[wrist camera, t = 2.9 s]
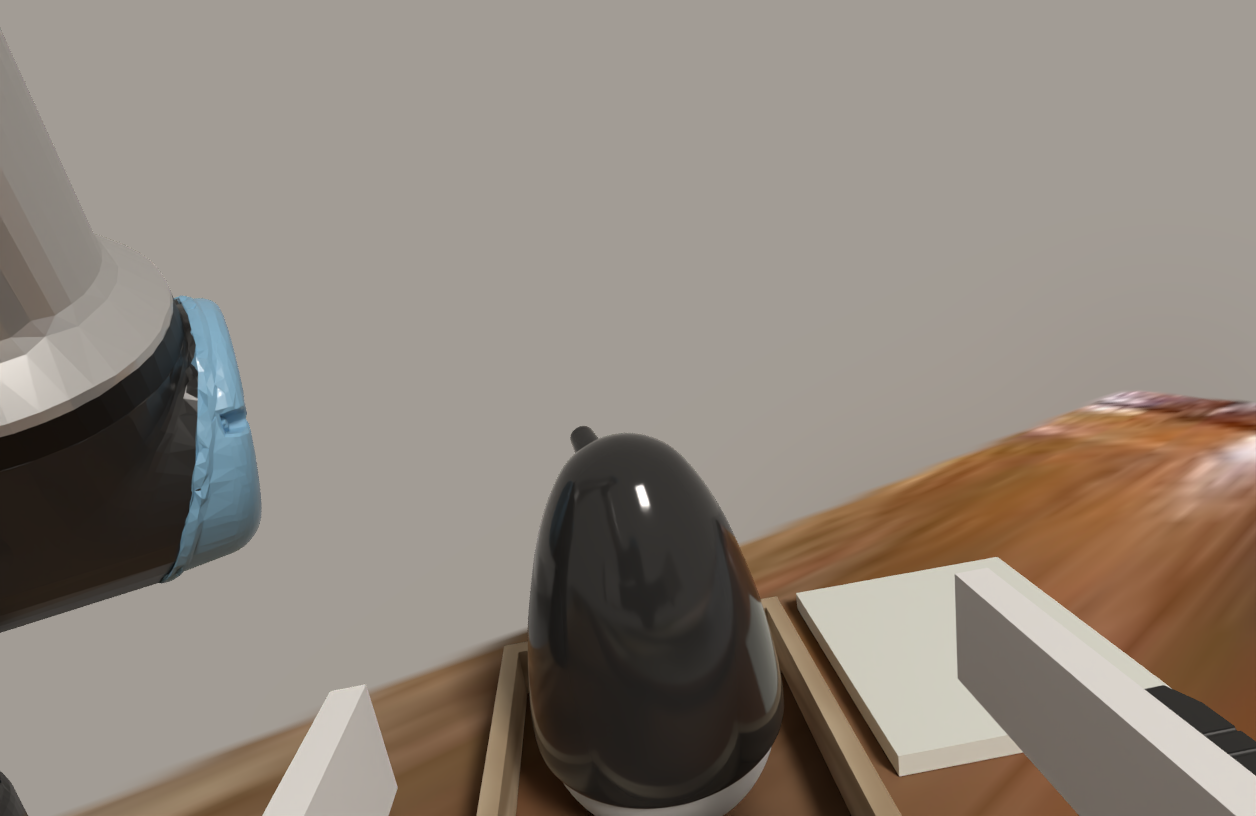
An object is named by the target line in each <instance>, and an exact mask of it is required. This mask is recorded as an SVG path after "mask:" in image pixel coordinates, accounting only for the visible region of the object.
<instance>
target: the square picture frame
mask: <svg viewBox="0 0 1256 816" xmlns="http://www.w3.org/2000/svg"><path fill="white" fill-rule="evenodd" d="M761 602H762V605H763V608H764V611H765V614H766V617H767V620H768V624H769V627H770V631H771V634H772V638H773V642H774V646H775V649H776V653H777V657H778V661H779V666H780V669H781V671H782V673H783V675H784V677H785V679H786V681H787V683H788V685H789V688H790V690H791V692H792V694H793V696H794V698H795V700H796V702H797V704H798V706H799V708H800V710H801V712H802V714H803V717H804V719H805V721H806V723H807V725H808V727H809V729H810V731H811V733H812V735H813V737H814V739H815V741H816V743H817V746H818V748H819V750H820V752H821V754H822V756H823V758H824V760H825V762H826V764H827V766H828V768H829V770H830V772H831V774H832V777H833V779H834V781H835V783H836V785H837V787H838V789H839V791H840V793H841V795H842V797H843V799H844V801H845V803H846V806H847V808H848V810H849V812H850V814H851V816H901V814H900V812H899V810H898V809H897V807H896V805H895V803H894V801H893V800H892V798H891V796H890V794H889V793H888V791H887V789H886V787H885V786H884V784H883V782H882V780H881V779H880V777H879V775H878V773H877V772H876V770H875V768H874V766H873V765H872V763H871V761H870V759H869V758H868V756H867V754H866V752H865V751H864V749H863V747H862V745H861V744H860V742H859V740H858V738H857V737H856V735H855V733H854V731H853V730H852V728H851V726H850V724H849V723H848V721H847V719H846V717H845V715H844V714H843V712H842V710H841V708H840V707H839V705H838V703H837V701H836V700H835V698H834V696H833V694H832V693H831V691H830V689H829V687H828V686H827V684H826V682H825V680H824V679H823V677H822V675H821V673H820V672H819V670H818V668H817V666H816V665H815V663H814V661H813V659H812V658H811V656H810V654H809V652H808V651H807V649H806V647H805V645H804V644H803V642H802V640H801V638H800V637H799V635H798V633H797V631H796V629H795V628H794V626H793V624H792V622H791V621H790V619H789V617H788V615H787V614H786V612H785V610H784V608H783V607H782V605H781V603H780V601H779V600H778V598H777V596H776V597H770V598H765V599H761ZM527 693H529V682H528V641H527V642H521V643H516V644H510V645H505V646H504V650H503V656H502V663H501V669H500V675H499V681H498V687H497V693H496V699H495V705H494V712H493V718H492V724H491V730H490V736H489V742H488V748H487V754H486V761H485V767H484V773H483V779H482V785H481V791H480V797H479V803H478V810H477V816H516V808H517V797H518V787H519V776H520V766H521V755H522V745H523V734H524V724H525V713H526V703H527Z"/></svg>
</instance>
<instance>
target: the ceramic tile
mask: <svg viewBox="0 0 1256 816" xmlns="http://www.w3.org/2000/svg"><path fill="white" fill-rule="evenodd" d="M982 568H989V569H990V570H991V571H993V572H994V573H995V574H996V575H998V576H999V577H1000V578H1002V579H1003V580H1004V581H1006V582H1007V583H1008V584H1009V585H1011V586H1012V587H1013V588H1015V589H1016V590H1017V591H1018V592H1020V593H1021V594H1022V595H1024V596H1025V597H1026V598H1027V599H1029V600H1030V601H1031V602H1033V603H1034V604H1035V605H1036V606H1038V607H1039V608H1040V609H1042V610H1043V611H1044V612H1045V613H1047V614H1048V615H1049V616H1051V617H1052V618H1053V619H1054V620H1056V621H1057V622H1058V623H1060V624H1061V625H1062V626H1063V627H1065V628H1066V629H1067V630H1069V631H1070V632H1071V633H1072V634H1074V635H1075V636H1076V637H1078V638H1079V639H1080V640H1081V641H1083V642H1084V643H1085V644H1087V645H1088V646H1089V647H1091V648H1092V649H1093V650H1094V651H1096V652H1097V653H1098V654H1100V655H1101V656H1102V657H1103V658H1105V659H1106V660H1107V661H1109V662H1110V663H1111V664H1112V665H1114V666H1115V667H1116V668H1118V669H1119V670H1120V671H1121V672H1123V673H1124V674H1125V675H1127V676H1128V677H1129V678H1130V679H1132V680H1133V681H1134V682H1136V683H1137V684H1138V685H1139V686H1141V687H1142V688H1143V689H1147V688H1152V687H1157V686H1162V685H1165V686H1167V687H1169V686H1168V685H1166V684H1165V683H1164V682H1162V681H1161V680H1160V679H1158V678H1157V677H1156V676H1154V675H1153V674H1152V673H1150V672H1149V671H1148V670H1146V669H1145V668H1144V667H1142V666H1141V665H1140V664H1139V663H1137V662H1136V661H1135V660H1133V659H1132V658H1131V657H1129V656H1128V655H1127V654H1125V653H1124V652H1123V651H1121V650H1120V649H1119V648H1117V647H1116V646H1115V645H1113V644H1112V643H1111V642H1109V641H1108V640H1107V639H1105V638H1104V637H1103V636H1101V635H1100V634H1099V633H1097V632H1096V631H1095V630H1093V629H1092V628H1091V627H1089V626H1088V625H1087V624H1085V623H1084V622H1083V621H1081V620H1080V619H1079V618H1078V617H1076V616H1075V615H1074V614H1072V613H1071V612H1070V611H1068V610H1067V609H1066V608H1064V607H1063V606H1062V605H1060V604H1059V603H1058V602H1056V601H1055V600H1054V599H1052V598H1051V597H1050V596H1048V595H1047V594H1046V593H1044V592H1043V591H1042V590H1040V589H1039V588H1038V587H1036V586H1035V585H1034V584H1032V583H1031V582H1030V581H1028V580H1027V579H1026V578H1024V577H1023V576H1022V575H1020V574H1019V573H1018V572H1016V571H1015V570H1014V569H1013V568H1011V567H1010V566H1009V565H1007V564H1006V563H1005V562H1003V561H1002V560H1001V559H999V558H998V557H994V558H989V559H983V560H978V561H972V562H967V563H961V564H956V565H950V566H945V567H939V568H933V569H928V570H922V571H917V572H911V573H906V574H900V575H895V576H889V577H884V578H878V579H873V580H867V581H861V582H856V583H850V584H845V585H839V586H834V587H828V588H823V589H817V590H812V591H806V592H801V593H796V599H797V609H798V610H799V612H800V614H801V615H802V617H803V619H804V620H805V622H806V624H807V625H808V627H809V629H810V630H811V632H812V633H813V635H814V637H815V638H816V640H817V642H818V643H819V645H820V647H821V648H822V650H823V652H824V653H825V655H826V657H827V658H828V660H829V662H830V663H831V665H832V666H833V668H834V670H835V671H836V673H837V675H838V676H839V678H840V680H841V681H842V683H843V685H844V686H845V688H846V690H847V691H848V693H849V694H850V696H851V698H852V699H853V701H854V703H855V704H856V706H857V708H858V709H859V711H860V713H861V714H862V716H863V718H864V719H865V721H866V722H867V724H868V726H869V727H870V729H871V731H872V732H873V734H874V736H875V737H876V739H877V741H878V742H879V744H880V746H881V747H882V749H883V751H884V752H885V754H886V755H887V757H888V759H889V760H890V762H891V764H892V765H893V767H894V769H895V770H896V772H897V774H898V775H899V776H904V775H909V774H914V773H920V772H925V771H930V770H935V769H940V768H945V767H950V766H955V765H961V764H966V763H971V762H976V761H981V760H986V759H991V758H997V757H1002V756H1007V755H1012V754H1017V753H1022V752H1023V751H1022V750H1021V749H1020V748H1019V747H1018V746H1017V745H1016V744H1015V742H1014V741H1013V740H1012V739H1011V738H1010V737H1009V736H1008V735H1007V733H1006V732H1005V731H1004V730H1003V729H1002V728H1001V727H1000V726H999V724H998V723H997V722H996V721H995V720H994V719H993V718H992V717H991V715H990V714H989V713H988V712H987V711H986V710H985V709H984V708H983V706H982V705H981V704H980V703H979V702H978V701H977V700H976V699H975V697H974V696H973V695H972V694H971V693H970V692H969V691H968V690H967V688H966V687H965V686H964V685H963V684H962V683H961V682H960V681H959V679H958V674H957V640H956V607H955V574H956V573H961V572H966V571H972V570H977V569H982ZM1169 688H1170V687H1169ZM1171 689H1172V688H1171Z"/></svg>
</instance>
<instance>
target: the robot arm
mask: <svg viewBox="0 0 1256 816" xmlns="http://www.w3.org/2000/svg"><path fill="white" fill-rule="evenodd" d="M246 415H247V412H246V407H245V403H244V396H243V388H242V383H241V379H240V375H239V370H238V366H237V361H236V357H235V353H234V349H233V346H232V342H231V338H230V335H229V331H228V328H227V325H226V322H225V319H224V316H223V314H222V312H221V310H220V308H219V307H218V305H217V304H215V303H214V302H213V301H211V300H207V299H203V298H201V299H200V298H198V299H193V298H191V297H187V296H179V297H176V298H173V296H172V293H171V290H170V288H169V286H168V283H167V281H166V279H165V278H164V276H163V275H162V274H161V272H160V271H159V270H158V268H157V267H156V266H155V265H154V264H153V262H152V261H150V260H149V259H148V258H146V257H145V256H143V255H142V254H141V253H139V252H138V251H136V250H134V249H132V248H130V247H128V246H126V245H124V244H121V243H118V242H116V241H113V240H111V239H108V238H105V237H103V236H100V235H97V234H94V233H93V231H92V229H91V227H90V224H89V222H88V220H87V218H86V216H85V214H84V211H83V209H82V207H81V205H80V203H79V200H78V198H77V196H76V194H75V192H74V189H73V187H72V185H71V183H70V180H69V178H68V176H67V174H66V172H65V169H64V167H63V165H62V163H61V161H60V158H59V156H58V154H57V152H56V150H55V147H54V145H53V143H52V141H51V139H50V136H49V134H48V132H47V130H46V128H45V125H44V123H43V121H42V119H41V117H40V115H39V112H38V110H37V108H36V106H35V103H34V101H33V99H32V97H31V95H30V92H29V90H28V88H27V86H26V84H25V81H24V79H23V77H22V75H21V73H20V70H19V68H18V66H17V64H16V62H15V59H14V57H13V55H12V53H11V51H10V49H9V46H8V44H7V42H6V40H5V37H4V35H3V33H2V31H1V29H0V633H1V632H4V631H7V630H10V629H14V628H17V627H20V626H23V625H26V624H29V623H33V622H36V621H39V620H42V619H45V618H48V617H51V616H55V615H58V614H61V613H64V612H67V611H71V610H74V609H77V608H80V607H83V606H86V605H90V604H92V603H95V602H99V601H102V600H105V599H109V598H112V597H114V596H118V595H121V594H124V593H127V592H131V591H134V590H137V589H140V588H143V587H147V586H150V585H153V584H156V583H165V582H169V581H172V580H174V579H175V578H177V577H178V576H180V575H181V574H182V573H183V572H184V571H186V570H189V569H191V568H194V567H196V566H199V565H202V564H204V563H207V562H210V561H212V560H215V559H218V558H220V557H223V556H226V555H228V554H231V553H233V552H235V551H237V550H239V549H240V548H242V547H244V546H245V545H246V544H247V543H248V542H249V541H250V540H251V539H252V537H253V536H254V534H255V533H256V531H257V529H258V527H259V524H260V519H261V493H260V484H259V476H258V469H257V463H256V456H255V451H254V446H253V440H252V435H251V430H250V427H249V424H248V422H247V421H246ZM955 607H956V640H957V674H958V679H959V681H960V682H961V683H962V684H963V685H964V686H965V687H966V688H967V690H968V691H969V692H970V693H971V694H972V695H973V696H974V697H975V699H976V700H977V701H978V702H979V703H980V704H981V705H982V706H983V708H984V709H985V710H986V711H987V712H988V713H989V714H990V715H991V717H992V718H993V719H994V720H995V721H996V722H997V723H998V724H999V726H1000V727H1001V728H1002V729H1003V730H1004V731H1005V732H1006V733H1007V735H1008V736H1009V737H1010V738H1011V739H1012V740H1013V741H1014V742H1015V744H1016V745H1017V746H1018V747H1019V748H1020V749H1021V750H1022V751H1023V753H1024V754H1025V755H1026V756H1027V757H1028V758H1029V759H1030V760H1031V762H1032V763H1033V764H1034V765H1035V766H1036V767H1037V768H1038V769H1039V771H1040V772H1041V773H1042V774H1043V775H1044V776H1045V777H1046V778H1047V780H1048V781H1049V782H1050V783H1051V784H1052V785H1053V786H1054V787H1055V789H1056V790H1057V791H1058V792H1059V793H1060V794H1061V795H1062V796H1063V798H1064V799H1065V800H1066V801H1067V802H1068V803H1069V804H1070V805H1071V807H1072V808H1073V809H1074V810H1075V811H1076V812H1077V813H1078V814H1079V816H1256V741H1254V740H1253V739H1251V738H1250V737H1249V736H1247V735H1246V734H1245V733H1243V732H1242V731H1237V730H1236V729H1235V726H1234V725H1232V724H1231V723H1229V722H1228V721H1227V720H1225V719H1224V718H1223V717H1221V716H1220V715H1218V714H1217V713H1216V712H1214V711H1213V710H1212V709H1210V708H1209V707H1207V706H1206V705H1205V704H1203V703H1202V702H1199V701H1197V700H1195V699H1193V698H1191V697H1189V696H1186V695H1184V694H1182V693H1180V692H1178V691H1176V690H1173V689H1171V688H1169V687H1167V686H1165V685H1162V686H1157V687H1152V688H1147V689H1143V688H1142V687H1141V686H1139V685H1138V684H1137V683H1136V682H1134V681H1133V680H1132V679H1130V678H1129V677H1128V676H1127V675H1125V674H1124V673H1123V672H1121V671H1120V670H1119V669H1118V668H1116V667H1115V666H1114V665H1112V664H1111V663H1110V662H1109V661H1107V660H1106V659H1105V658H1103V657H1102V656H1101V655H1100V654H1098V653H1097V652H1096V651H1094V650H1093V649H1092V648H1091V647H1089V646H1088V645H1087V644H1085V643H1084V642H1083V641H1081V640H1080V639H1079V638H1078V637H1076V636H1075V635H1074V634H1072V633H1071V632H1070V631H1069V630H1067V629H1066V628H1065V627H1063V626H1062V625H1061V624H1060V623H1058V622H1057V621H1056V620H1054V619H1053V618H1052V617H1051V616H1049V615H1048V614H1047V613H1045V612H1044V611H1043V610H1042V609H1040V608H1039V607H1038V606H1036V605H1035V604H1034V603H1033V602H1031V601H1030V600H1029V599H1027V598H1026V597H1025V596H1024V595H1022V594H1021V593H1020V592H1018V591H1017V590H1016V589H1015V588H1013V587H1012V586H1011V585H1009V584H1008V583H1007V582H1006V581H1004V580H1003V579H1002V578H1000V577H999V576H998V575H996V574H995V573H994V572H993V571H991V570H990V569H989V568H982V569H977V570H972V571H966V572H961V573H956V574H955ZM397 788H398V787H397V784H396V781H395V778H394V774H393V771H392V768H391V764H390V761H389V758H388V755H387V751H386V748H385V745H384V742H383V738H382V735H381V732H380V728H379V725H378V722H377V719H376V715H375V712H374V709H373V705H372V702H371V699H370V696H369V692H368V689H367V686H366V684H365V685H360V686H355V687H349V688H344V689H339V690H333V691H330V693H329V694H328V696H327V698H326V700H325V702H324V704H323V705H322V707H321V709H320V711H319V713H318V715H317V716H316V718H315V720H314V722H313V724H312V726H311V727H310V729H309V731H308V733H307V735H306V737H305V738H304V740H303V742H302V744H301V746H300V748H299V749H298V751H297V753H296V755H295V757H294V759H293V760H292V762H291V764H290V766H289V768H288V770H287V771H286V773H285V775H284V777H283V779H282V781H281V782H280V784H279V786H278V788H277V790H276V792H275V793H274V795H273V797H272V799H271V801H270V803H269V804H268V806H267V808H266V810H265V812H264V814H263V815H262V816H389V813H390V809H391V806H392V803H393V800H394V797H395V794H396V791H397ZM0 816H28V815H27V813H26V811H25V809H24V807H23V805H22V803H21V801H20V799H19V797H18V795H17V793H16V792H15V789H14V787H13V785H12V784H11V782H10V781H9V780H8V779H7V778H6V776H5V775H4V774H3V773H2V772H0Z"/></svg>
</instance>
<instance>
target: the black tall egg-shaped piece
mask: <svg viewBox="0 0 1256 816" xmlns="http://www.w3.org/2000/svg"><path fill="white" fill-rule="evenodd" d="M570 438H571V443H572V445H573V448H574V450H575V454H574V455H573V456H572V457H571V458H570V459H569V460H568V461H567V463H566V464H565V465H564V467H563V468H562V470H561V472H560V474H559V475H558V477H557V479H556V481H555V484H554V486H553V489H552V491H551V493H550V496H549V498H548V501H547V504H546V507H545V510H544V513H543V517H542V521H541V525H540V529H539V533H538V538H537V543H536V549H535V555H534V563H533V571H532V582H531V591H530V603H529V616H528V682H529V700H530V710H531V718H532V724H533V729H534V734H535V738H536V742H537V745H538V748H539V751H540V753H541V756H542V758H543V760H544V761H545V763H546V765H547V766H548V767H549V769H550V770H551V771H552V772H553V774H554V775H555V776H556V777H557V778H558V779H559V780H560V781H562V782H563V784H564V785H565V786H566V788H567V789H568V790H569V792H570V793H571V794H572V795H573V796H574V798H575V799H576V800H577V801H578V802H579V803H580V804H581V805H582V806H583V807H584V808H586V809H587V810H588V811H589V812H591V813H592V814H593V815H595V816H723V815H725V814H726V813H728V812H729V811H730V810H731V809H733V808H734V807H735V806H736V805H737V804H738V803H739V802H740V801H741V800H742V799H743V798H744V797H745V796H746V795H747V793H748V792H749V791H750V790H751V789H752V787H753V786H754V784H755V782H756V781H757V779H758V778H759V776H760V774H761V772H762V770H763V768H764V766H765V764H766V761H767V759H768V756H769V753H770V750H771V747H772V745H773V743H774V741H775V739H776V737H777V735H778V733H779V730H780V727H781V723H782V719H783V713H784V693H783V684H782V677H781V671H780V666H779V661H778V657H777V653H776V649H775V646H774V642H773V638H772V634H771V631H770V627H769V624H768V620H767V617H766V614H765V611H764V608H763V605H762V602H761V599H760V596H759V593H758V590H757V588H756V585H755V582H754V580H753V577H752V575H751V572H750V570H749V568H748V565H747V563H746V561H745V558H744V556H743V554H742V551H741V549H740V547H739V544H738V542H737V540H736V538H735V536H734V534H733V531H732V529H731V527H730V525H729V523H728V521H727V519H726V517H725V515H724V513H723V512H722V510H721V508H720V506H719V504H718V503H717V501H716V499H715V498H714V496H713V495H712V493H711V491H710V490H709V488H708V487H707V485H706V484H705V483H704V481H703V480H702V478H701V477H700V476H699V475H698V473H697V472H696V471H695V470H694V469H693V467H692V466H691V465H690V464H689V463H688V462H687V461H686V460H685V458H684V457H683V456H682V455H681V454H679V453H678V452H677V451H676V450H674V448H672V447H671V446H669V445H668V444H666V443H664V442H662V441H660V440H658V439H656V438H653V437H649V436H646V435H641V434H635V433H620V434H613V435H609V436H605V437H602V438H598V437H597V436H596V435H595V433H594V432H593V431H592V429H591V428H589V427H587V426H580V427H578V428H576V429H575V430H574V431H573V432H572V434H571V437H570Z"/></svg>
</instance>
